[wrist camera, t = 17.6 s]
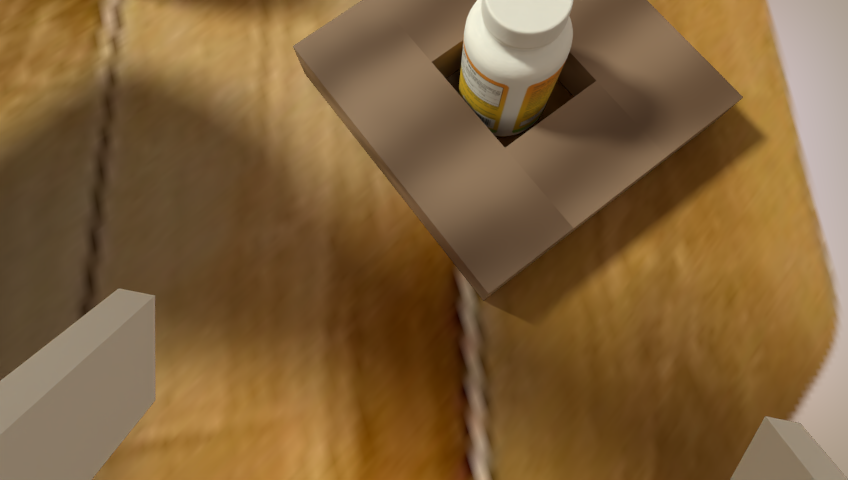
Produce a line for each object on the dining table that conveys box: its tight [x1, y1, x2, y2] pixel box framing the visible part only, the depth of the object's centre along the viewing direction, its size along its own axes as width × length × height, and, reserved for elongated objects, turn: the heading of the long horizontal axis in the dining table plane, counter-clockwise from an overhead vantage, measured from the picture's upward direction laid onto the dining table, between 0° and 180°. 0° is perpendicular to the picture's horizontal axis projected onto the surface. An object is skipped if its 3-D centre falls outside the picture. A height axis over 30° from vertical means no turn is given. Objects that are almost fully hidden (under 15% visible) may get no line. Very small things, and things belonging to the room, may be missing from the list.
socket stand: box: [293, 0, 743, 301], centre depth 32 cm, size 18×18×3 cm
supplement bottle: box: [458, 0, 573, 136], centre depth 28 cm, size 5×5×10 cm
